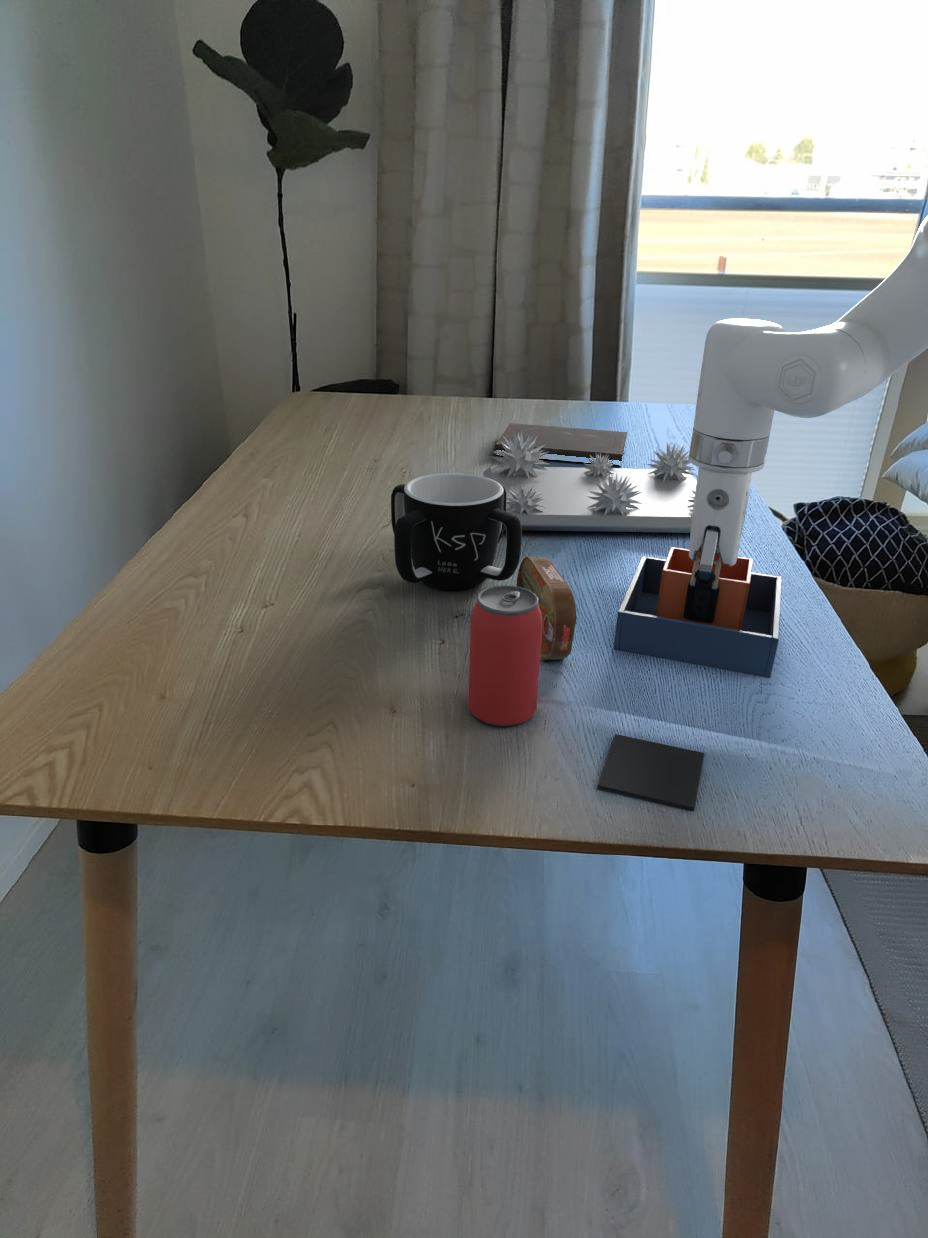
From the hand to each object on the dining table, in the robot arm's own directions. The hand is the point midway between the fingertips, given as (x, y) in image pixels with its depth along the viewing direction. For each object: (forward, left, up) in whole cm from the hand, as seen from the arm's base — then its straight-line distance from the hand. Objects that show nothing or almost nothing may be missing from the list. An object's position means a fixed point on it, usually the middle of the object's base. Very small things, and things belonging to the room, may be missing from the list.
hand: (702, 603), depth 95 cm
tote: (0, 0, -4) cm, 4 cm away
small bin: (0, 0, -3) cm, 3 cm away
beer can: (+16, +23, -4) cm, 28 cm away
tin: (+16, +8, -4) cm, 18 cm away
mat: (+1, +28, -4) cm, 28 cm away
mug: (+31, -4, -4) cm, 32 cm away
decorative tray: (+19, -37, -4) cm, 42 cm away
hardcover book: (+32, -66, -4) cm, 73 cm away
